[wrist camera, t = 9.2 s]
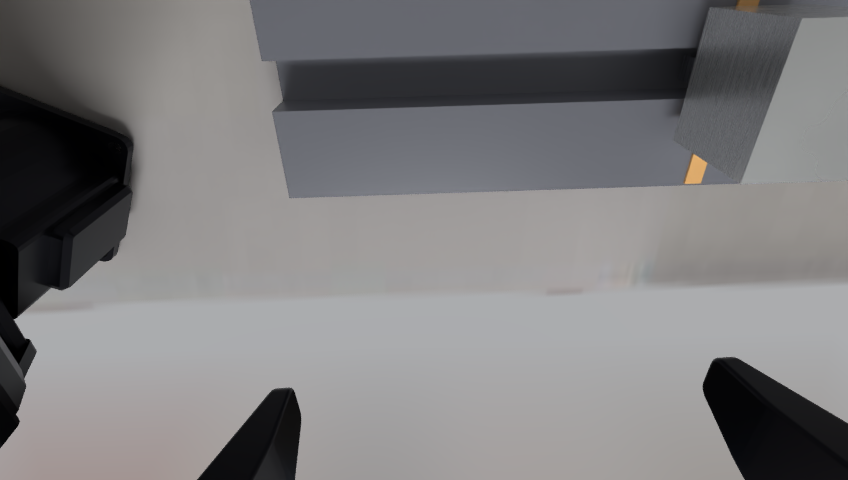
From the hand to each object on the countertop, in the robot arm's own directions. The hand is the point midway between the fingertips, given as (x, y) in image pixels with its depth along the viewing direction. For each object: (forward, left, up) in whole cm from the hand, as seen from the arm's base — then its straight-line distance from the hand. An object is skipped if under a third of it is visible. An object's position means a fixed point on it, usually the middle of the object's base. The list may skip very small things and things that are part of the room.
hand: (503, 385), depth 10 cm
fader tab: (+5, +8, -10) cm, 14 cm away
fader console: (+1, +6, -12) cm, 13 cm away
